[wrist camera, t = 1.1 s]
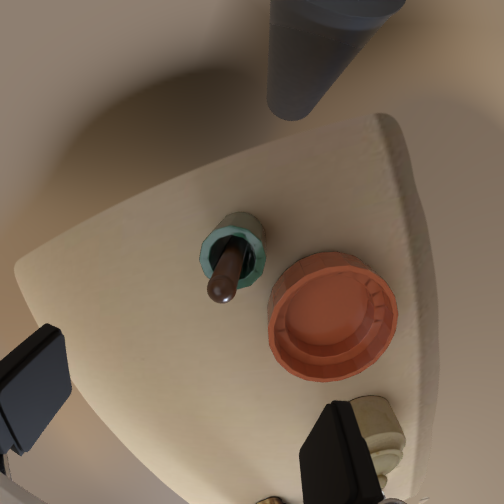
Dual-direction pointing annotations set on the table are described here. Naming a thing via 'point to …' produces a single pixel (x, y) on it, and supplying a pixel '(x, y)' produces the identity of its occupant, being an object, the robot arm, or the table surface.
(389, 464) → the sugar bowl
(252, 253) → the stick holder
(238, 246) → the stirring stick
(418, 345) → the table surface
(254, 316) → the table surface
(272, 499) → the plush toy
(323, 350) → the mixing bowl
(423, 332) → the table surface
